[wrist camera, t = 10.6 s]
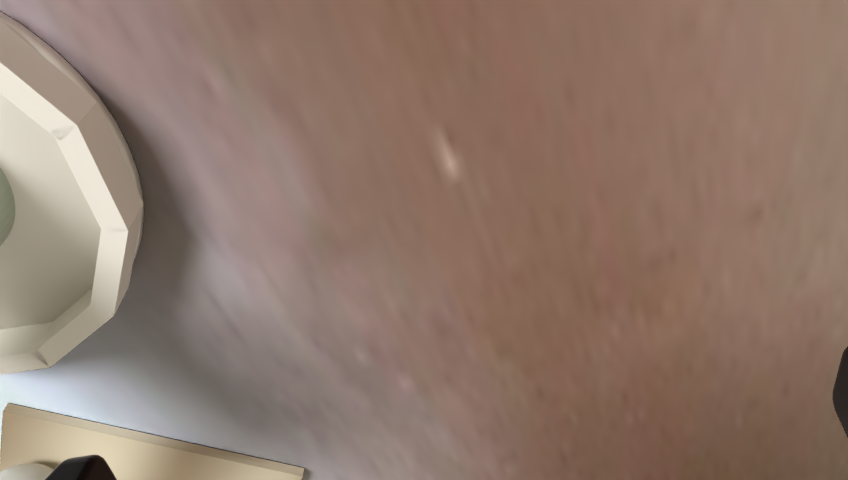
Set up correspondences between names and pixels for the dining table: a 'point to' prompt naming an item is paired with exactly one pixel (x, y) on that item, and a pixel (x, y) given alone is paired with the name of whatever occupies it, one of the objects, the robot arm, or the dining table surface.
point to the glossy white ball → (26, 472)
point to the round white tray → (60, 205)
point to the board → (124, 450)
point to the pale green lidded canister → (6, 208)
